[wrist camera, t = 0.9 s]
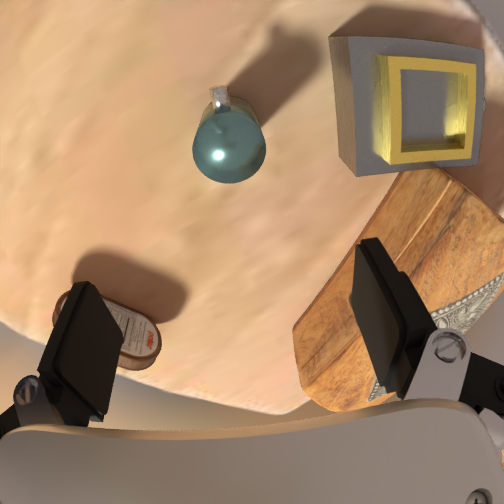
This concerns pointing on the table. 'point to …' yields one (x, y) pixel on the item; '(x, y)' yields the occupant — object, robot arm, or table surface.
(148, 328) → the tin
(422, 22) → the table surface
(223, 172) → the spout can
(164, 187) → the table surface
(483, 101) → the grey yellow box
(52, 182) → the table surface
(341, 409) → the wooden box
